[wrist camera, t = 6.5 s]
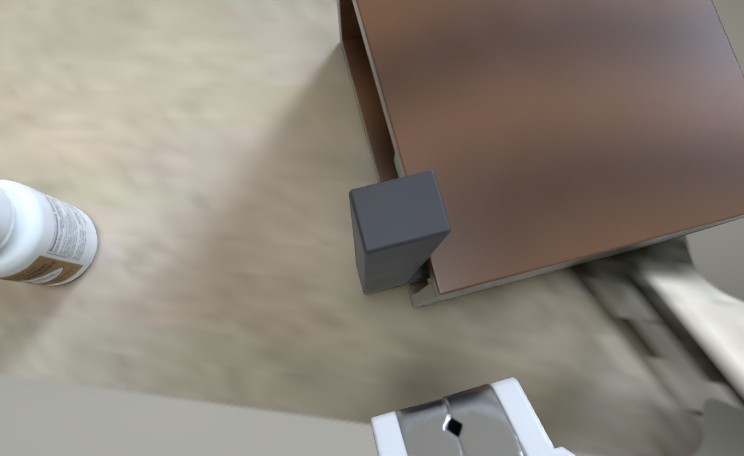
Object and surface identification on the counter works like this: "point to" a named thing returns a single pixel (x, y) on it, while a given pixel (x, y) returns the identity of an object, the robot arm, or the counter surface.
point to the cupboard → (550, 126)
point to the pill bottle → (42, 237)
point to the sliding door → (397, 229)
